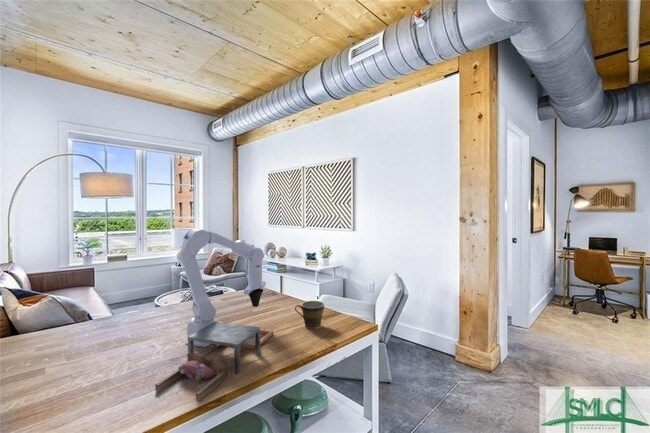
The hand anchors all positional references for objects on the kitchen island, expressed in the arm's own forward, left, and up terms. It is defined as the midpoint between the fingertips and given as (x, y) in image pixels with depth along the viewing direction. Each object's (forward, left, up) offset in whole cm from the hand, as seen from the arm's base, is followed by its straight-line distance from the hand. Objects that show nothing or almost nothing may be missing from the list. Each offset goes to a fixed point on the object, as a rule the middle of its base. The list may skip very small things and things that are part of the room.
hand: (255, 306), depth 132 cm
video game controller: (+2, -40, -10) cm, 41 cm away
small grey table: (+4, -27, -9) cm, 29 cm away
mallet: (+4, -32, -9) cm, 34 cm away
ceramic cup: (+22, +8, -10) cm, 25 cm away
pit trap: (+4, -11, -9) cm, 15 cm away
